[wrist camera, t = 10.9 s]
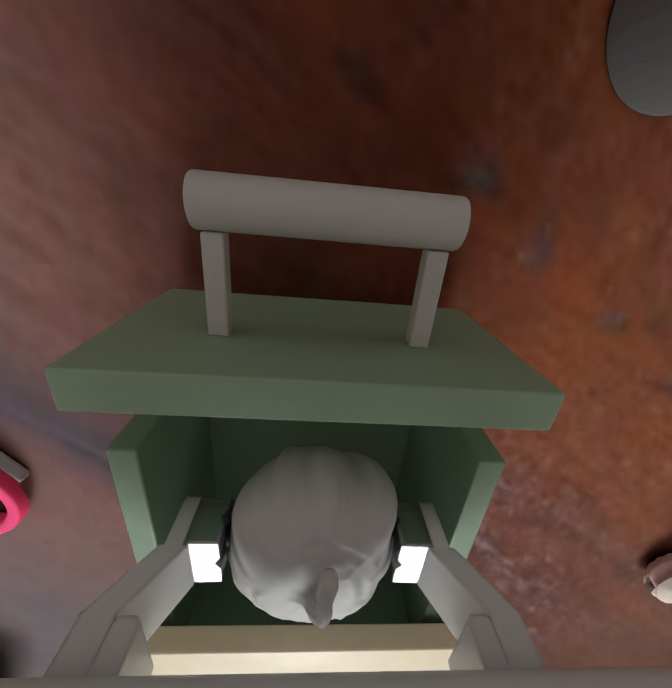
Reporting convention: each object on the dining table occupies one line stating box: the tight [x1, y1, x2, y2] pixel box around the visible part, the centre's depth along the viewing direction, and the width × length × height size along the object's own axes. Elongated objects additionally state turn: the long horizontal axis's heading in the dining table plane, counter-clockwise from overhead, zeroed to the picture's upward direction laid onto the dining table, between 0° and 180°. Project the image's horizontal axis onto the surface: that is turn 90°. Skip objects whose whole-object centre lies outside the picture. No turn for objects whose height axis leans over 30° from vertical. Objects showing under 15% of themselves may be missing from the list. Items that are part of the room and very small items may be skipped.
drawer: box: [44, 169, 565, 626], centre depth 13 cm, size 18×12×7 cm
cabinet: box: [147, 620, 457, 675], centre depth 18 cm, size 15×14×9 cm
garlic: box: [228, 445, 398, 628], centre depth 10 cm, size 6×5×5 cm
